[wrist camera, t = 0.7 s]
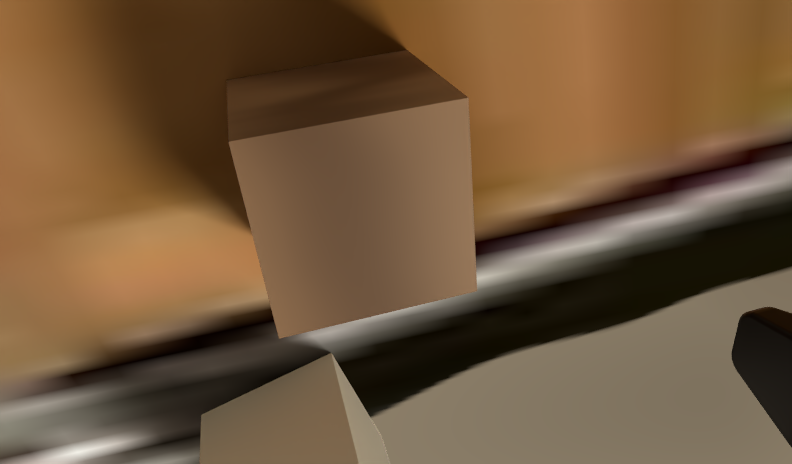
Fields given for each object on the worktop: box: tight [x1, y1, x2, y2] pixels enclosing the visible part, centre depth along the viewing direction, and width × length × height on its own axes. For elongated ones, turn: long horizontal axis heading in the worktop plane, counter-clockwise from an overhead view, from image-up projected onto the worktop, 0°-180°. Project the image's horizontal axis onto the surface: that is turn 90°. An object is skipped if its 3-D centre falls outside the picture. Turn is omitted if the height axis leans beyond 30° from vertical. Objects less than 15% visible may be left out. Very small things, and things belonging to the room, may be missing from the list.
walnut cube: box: [227, 50, 477, 339], centre depth 16 cm, size 5×5×5 cm
